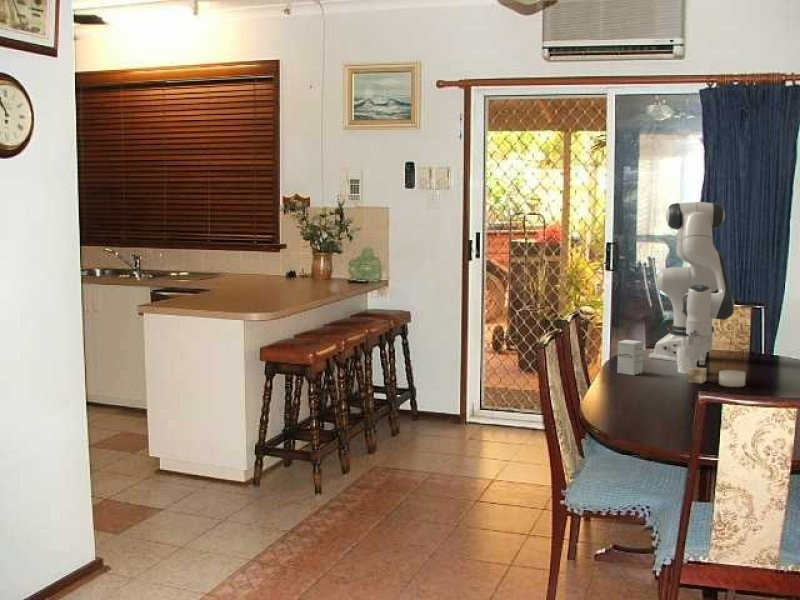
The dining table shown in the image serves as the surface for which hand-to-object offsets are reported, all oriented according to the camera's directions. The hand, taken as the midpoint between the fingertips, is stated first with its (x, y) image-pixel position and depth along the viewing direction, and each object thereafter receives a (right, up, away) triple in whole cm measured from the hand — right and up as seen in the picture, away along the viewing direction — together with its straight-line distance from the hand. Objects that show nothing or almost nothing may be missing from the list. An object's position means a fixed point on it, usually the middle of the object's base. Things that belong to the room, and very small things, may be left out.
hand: (697, 366), depth 325 cm
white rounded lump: (+11, -6, -4) cm, 13 cm away
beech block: (0, -6, +1) cm, 6 cm away
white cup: (+2, -4, +19) cm, 19 cm away
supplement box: (-20, -4, +19) cm, 28 cm away
